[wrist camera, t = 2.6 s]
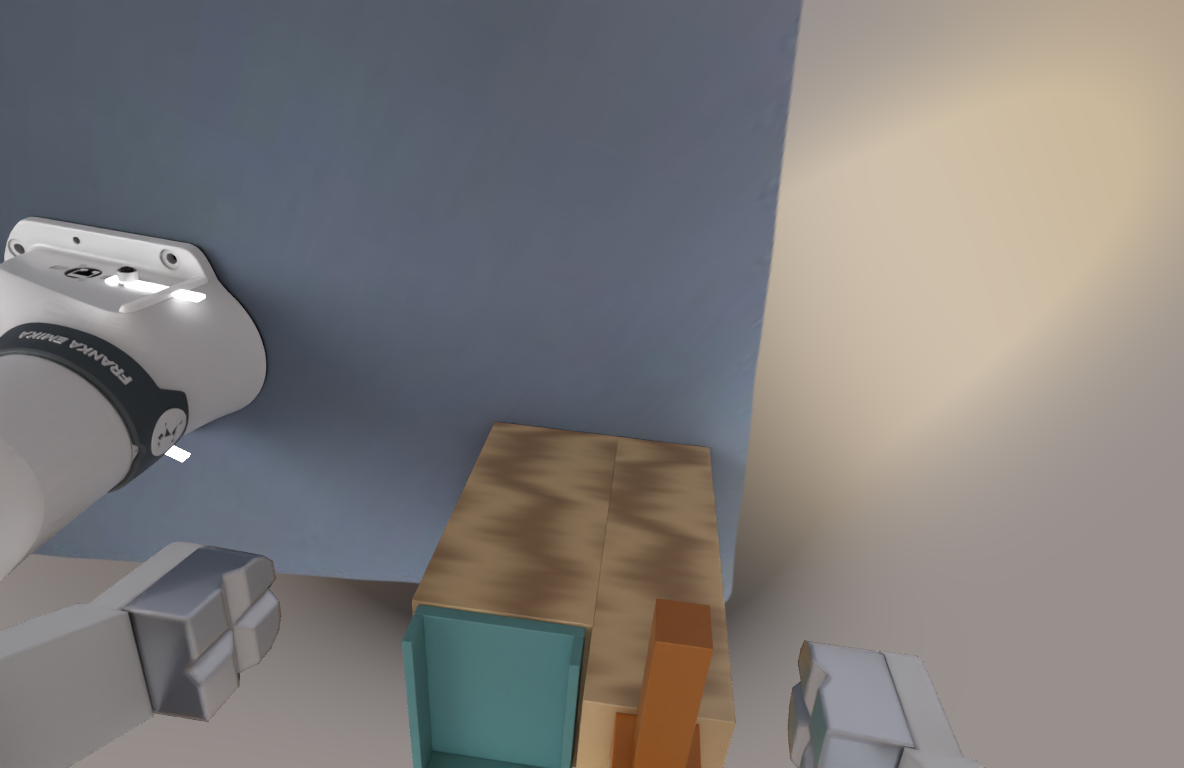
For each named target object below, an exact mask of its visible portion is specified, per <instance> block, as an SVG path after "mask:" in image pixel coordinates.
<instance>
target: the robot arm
mask: <svg viewBox="0 0 1184 768" xmlns="http://www.w3.org/2000/svg"><path fill="white" fill-rule="evenodd" d="M172 254H173V255H174V256H175V257H176V259H177V261H176V260H175V259H174V258H173V255H172ZM265 374H266V356H265V350H264V346H263V343H262V340H261V337H260V335H259V332H258V330H257V328H256V326H255V324H254V323H253V321H252V319H251V318H250V316H249V315H248V314H247V312H246V311H245V309H244V308H243V307H242V306H241V305H240V303H239V302H238V301H237V300H236V299H235V298H234V297H233V296H232V295H231V294H230V293H229V292H228V291H227V290H226V289H225V288H224V287H223V286H222V285H221V283H220V282H219V281H218V279H217V277H216V275H215V273H214V271H213V269H212V267H211V265H210V264H209V262H208V260H207V258H206V257H205V255H204V254H203V253H202V251H201V250H200V249H199V248H197V247H196V246H194V245H192V244H189V243H183V242H178V241H172V240H166V239H160V238H155V237H149V236H143V235H137V234H132V233H126V232H120V231H114V230H109V229H103V228H97V227H91V226H86V225H80V224H74V223H68V222H63V221H57V220H51V219H45V218H39V217H28V218H25V219H23V220H21V221H19V222H18V223H17V224H16V226H15V227H14V228H13V230H12V232H11V233H10V236H9V238H8V241H7V245H6V249H5V255H4V262H3V263H1V264H0V582H1V581H2V580H3V579H4V578H5V577H6V576H7V575H8V574H9V573H10V572H12V571H13V570H14V569H15V568H16V567H17V566H18V565H19V564H20V563H21V562H22V561H23V560H25V559H26V558H27V557H28V556H29V555H30V554H32V553H33V552H34V551H35V550H36V549H37V548H39V547H40V546H41V545H42V544H44V543H45V542H46V541H47V540H48V539H50V538H51V537H52V536H53V535H55V534H56V533H57V532H58V531H60V530H61V529H62V528H63V527H65V526H66V525H67V524H68V523H70V522H71V521H72V520H73V519H75V518H76V517H77V516H78V515H80V514H81V513H82V512H83V511H85V510H86V509H87V508H88V507H90V506H91V505H92V504H93V503H95V502H96V501H97V500H98V499H100V498H101V497H102V496H103V495H104V494H106V493H109V492H113V491H115V490H118V489H120V488H122V487H124V486H125V485H126V484H128V483H129V482H130V481H132V480H133V479H134V478H136V477H137V476H138V475H140V474H141V473H142V472H144V471H145V470H146V469H147V468H149V467H150V466H151V465H153V464H154V463H155V462H156V461H158V460H159V459H160V458H161V457H162V456H163V455H164V454H166V455H168V456H171V457H173V458H175V459H177V460H179V461H181V462H183V461H184V460H186V459H187V458H188V457H189V456H190V453H188V452H186V451H184V450H182V449H180V448H177V447H175V446H174V445H175V444H176V443H177V441H178V440H179V439H180V438H182V437H183V436H185V435H187V434H188V433H190V432H192V431H194V430H196V429H197V428H199V427H201V426H203V425H205V424H207V423H209V422H211V421H213V420H215V419H217V418H219V417H222V416H224V415H227V414H230V413H232V412H235V411H238V410H240V409H242V408H244V407H245V406H247V405H248V404H249V403H251V402H252V401H253V400H254V399H255V397H256V396H257V395H258V393H259V392H260V390H261V388H262V386H263V383H264V379H265ZM275 579H276V575H275V570H274V565H273V561H272V560H271V559H269V558H267V557H266V556H264V555H258V554H253V553H247V552H242V551H236V550H231V549H226V548H220V547H215V546H205V545H201V544H195V543H189V542H184V541H180V542H175V543H170V544H168V545H167V546H166V547H164V548H163V549H162V550H160V551H159V552H158V553H156V554H155V555H153V556H152V557H151V558H149V559H148V560H147V561H145V562H144V563H143V564H141V565H140V566H139V567H137V568H136V569H134V570H133V571H132V572H130V573H129V574H128V575H126V576H125V577H124V578H122V579H121V580H119V581H118V582H117V583H116V584H114V585H113V586H111V587H110V588H109V589H107V590H106V591H104V592H103V593H102V594H100V595H99V596H98V597H96V598H95V599H94V600H92V601H91V602H89V603H88V604H87V605H86V604H80V603H76V604H73V605H71V606H67V607H65V608H62V609H59V610H56V611H53V612H50V613H47V614H44V615H42V616H39V617H36V618H33V619H30V620H27V621H24V622H21V623H19V624H16V625H13V626H10V627H7V628H4V629H1V630H0V768H68V767H70V766H72V765H73V764H75V763H77V762H78V761H80V760H82V759H83V758H85V757H86V756H88V755H90V754H92V753H93V752H95V751H97V750H98V749H100V748H102V747H103V746H105V745H107V744H108V743H110V742H112V741H113V740H115V739H117V738H118V737H120V736H122V735H123V734H125V733H127V732H128V731H130V730H132V729H133V728H135V727H137V726H138V725H140V724H142V723H143V722H145V721H147V720H148V719H150V718H152V717H153V716H154V714H153V713H156V714H162V715H168V716H174V717H181V718H187V719H193V720H199V721H205V722H208V721H209V720H210V719H211V718H212V717H213V716H214V715H215V713H216V712H217V711H218V710H219V709H220V708H221V706H222V705H223V704H224V703H225V702H226V701H227V699H228V698H229V697H230V696H231V695H232V694H233V693H234V691H235V690H236V689H237V688H238V687H239V680H240V673H241V672H243V671H245V670H247V669H249V668H251V667H253V666H255V665H257V664H259V663H260V662H261V660H262V659H263V658H264V657H265V655H266V654H267V653H268V652H269V650H270V649H271V648H272V645H273V643H274V641H275V639H276V636H277V634H278V632H279V628H280V621H281V609H280V602H279V601H278V599H277V598H276V597H275V596H274V594H273V593H272V592H271V590H270V589H269V587H270V586H271V585H272V583H273V582H274V581H275ZM798 666H799V673H800V679H801V681H800V682H799V683H798V684H796V685H795V686H794V687H793V688H792V693H791V699H790V705H789V718H788V740H789V750H790V759H791V761H792V762H793V763H794V765H795V766H796V767H797V768H985V767H983V766H982V765H981V764H980V763H979V762H978V761H976V760H972V759H967V758H964V756H963V754H962V751H961V749H960V747H959V744H958V742H957V740H956V737H955V735H954V733H953V730H952V728H951V725H950V723H949V721H948V718H947V716H946V714H945V711H944V709H943V707H942V704H941V702H940V699H939V697H938V695H937V692H936V690H935V688H934V685H933V683H932V681H931V678H930V676H929V674H928V671H927V669H926V667H925V664H924V662H923V661H922V660H921V659H920V658H919V657H918V656H916V655H907V654H901V653H893V652H885V651H879V652H877V651H872V650H866V649H859V648H852V647H845V646H839V645H832V644H825V643H819V642H812V641H806V640H805V641H804V643H803V645H802V647H801V650H800V655H799V660H798Z"/></svg>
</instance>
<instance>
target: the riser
mask: <svg viewBox="0 0 1184 768" xmlns="http://www.w3.org/2000/svg"><path fill="white" fill-rule="evenodd" d="M657 598H659V599H667V600H674V601H682V602H689V603H696V604H704V605H710V608H711V623H712V637H713V653H712V657H711V661H710V666H709V670H708V674H707V679H706V683H705V687H704V691H703V696H702V700H701V704H700V708H699V713H698V717H697V721H696V724H698V725H699V726H700V748H701V768H723V767H724V763H725V759H726V756H727V753H728V749H729V745H730V742H731V738H732V734H733V731H734V727H735V724H736V719H735V709H734V698H733V687H732V677H731V666H730V656H729V645H728V635H727V624H726V615H725V603H724V593H723V582H722V572H721V561H720V551H719V541H718V530H717V520H716V509H715V499H714V488H713V478H712V467H711V457H710V448H708V447H700V446H691V445H683V444H675V443H667V442H658V441H650V440H642V439H633V438H625V437H617V436H609V435H601V434H592V433H584V432H576V431H567V430H559V429H551V428H542V427H534V426H526V425H518V424H509V423H501V422H494V425H493V427H492V429H491V431H490V433H489V435H488V437H487V440H486V442H485V444H484V446H483V448H482V450H481V453H480V455H479V457H478V459H477V461H476V463H475V465H474V468H473V470H472V472H471V474H470V476H469V478H468V481H467V483H466V485H465V487H464V489H463V491H462V493H461V496H460V498H459V500H458V502H457V504H456V506H455V509H454V511H453V513H452V515H451V517H450V519H449V522H448V524H447V526H446V528H445V530H444V532H443V534H442V537H441V539H440V541H439V543H438V545H437V547H436V550H435V552H434V554H433V556H432V558H431V560H430V562H429V565H428V567H427V569H426V571H425V573H424V575H423V578H422V580H421V582H420V584H419V586H418V588H417V591H416V593H415V595H414V597H413V599H412V608H413V615H414V613H415V611H416V609H417V606H418V605H419V604H420V605H427V606H435V607H442V608H449V609H456V610H463V611H471V612H478V613H485V614H492V615H500V616H507V617H514V618H521V619H528V620H536V621H543V622H550V623H557V624H564V625H572V626H579V627H585V628H586V631H585V641H584V651H583V661H582V671H581V682H580V692H579V702H578V712H577V722H576V733H575V743H574V753H573V763H572V767H576V768H608V761H609V758H610V751H611V744H612V737H613V730H614V723H615V716H616V713H623V714H630V715H637V712H638V706H639V700H640V693H641V687H642V681H643V675H644V669H645V663H646V657H647V651H648V645H649V639H650V633H651V627H652V621H653V615H654V609H655V603H656V599H657Z"/></svg>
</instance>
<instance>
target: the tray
mask: <svg viewBox="0 0 1184 768" xmlns="http://www.w3.org/2000/svg"><path fill="white" fill-rule="evenodd" d="M585 631H586V628H585V627H579V626H572V625H564V624H557V623H550V622H543V621H536V620H528V619H521V618H514V617H507V616H500V615H492V614H485V613H478V612H471V611H463V610H456V609H449V608H442V607H435V606H427V605H420V604H419V605H418V606H417V609H416V611H415V613H414V615H413V618H412V620H411V622H410V624H409V626H408V628H407V631H406V633H405V635H404V638H403V640H402V647H403V648H402V649H403V659H404V671H405V680H406V692H407V703H408V714H409V725H410V736H411V747H412V758H413V768H572V763H573V753H574V743H575V733H576V722H577V712H578V702H579V692H580V682H581V671H582V661H583V651H584V641H585Z"/></svg>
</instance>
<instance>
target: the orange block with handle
mask: <svg viewBox="0 0 1184 768" xmlns="http://www.w3.org/2000/svg"><path fill="white" fill-rule="evenodd" d="M712 653H713V637H712V623H711V608H710V605H704V604H696V603H689V602H682V601H674V600H667V599H659V598H657V599H656V603H655V609H654V615H653V621H652V627H651V633H650V639H649V645H648V651H647V657H646V663H645V669H644V675H643V681H642V687H641V693H640V700H639V706H638V712H637V715H630V714H623V713H616V716H615V723H614V730H613V737H612V744H611V751H610V758H609V761H608V768H701V748H700V726H699V725H698V724H696V721H697V717H698V713H699V708H700V704H701V700H702V696H703V691H704V687H705V683H706V679H707V674H708V670H709V666H710V661H711V657H712Z"/></svg>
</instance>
